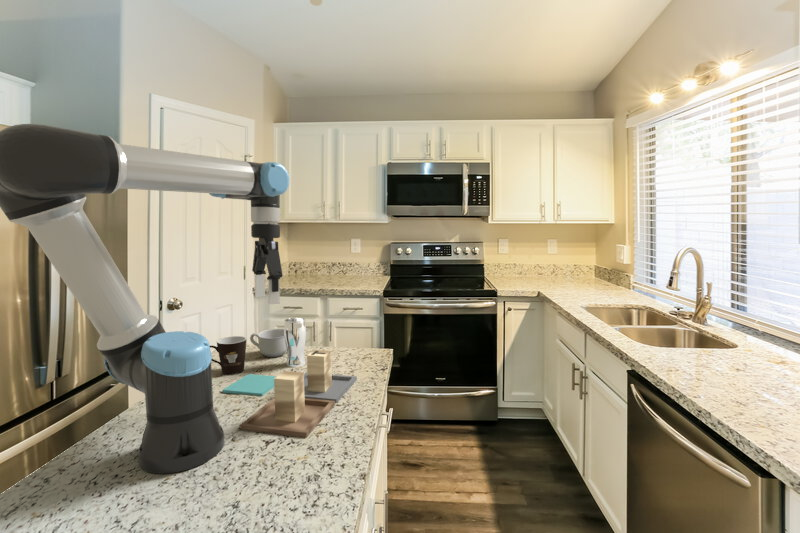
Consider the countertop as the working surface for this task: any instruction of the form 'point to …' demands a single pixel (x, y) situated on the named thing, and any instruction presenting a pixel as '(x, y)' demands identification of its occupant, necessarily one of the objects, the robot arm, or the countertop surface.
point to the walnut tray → (300, 428)
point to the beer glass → (295, 341)
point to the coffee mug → (231, 354)
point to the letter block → (319, 371)
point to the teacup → (270, 342)
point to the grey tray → (331, 388)
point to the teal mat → (251, 385)
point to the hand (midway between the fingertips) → (266, 300)
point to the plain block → (289, 396)
